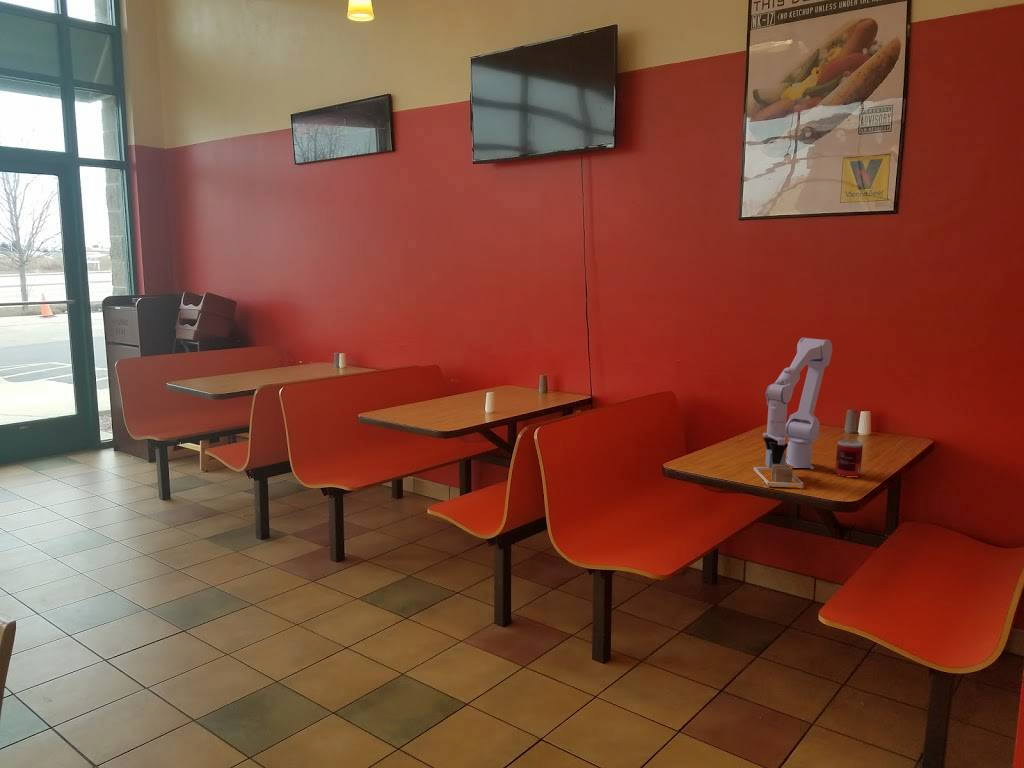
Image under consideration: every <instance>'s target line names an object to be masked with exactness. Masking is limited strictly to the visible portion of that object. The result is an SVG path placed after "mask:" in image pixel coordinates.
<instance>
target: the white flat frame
mask: <svg viewBox="0 0 1024 768" xmlns="http://www.w3.org/2000/svg"><path fill="white" fill-rule="evenodd" d="M753 470H754V471H755V472H756V473H757V474H758V475H759V476H760V477H761V478H762V479H763V480H764V482H765V483H766V484H767V485H779V486H802V487H803V488H804V485H805V484H804V482H803V481H801V479H800V478H798V476H797V475H795V474H794V473H793V472H792V478H794V480H795V481H796V482H797V483H784V482H769V481H768V480H767V479H766V478H765V477H764V476H763V475H762V474H761V473H760V472H759V470H772V468H768V467H767V466H766V467H765V466H753ZM753 470H752V471H753Z"/></svg>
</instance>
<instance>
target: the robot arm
mask: <svg viewBox="0 0 1024 768" xmlns="http://www.w3.org/2000/svg"><path fill="white" fill-rule="evenodd" d="M832 354H833V344H832V342H831V340H830V339H821V338H820V339H819V338H811V337H810V338H809V337H808V338H807V337H805V336H804V337H801V338H800V339H799V341H798V343H797V346H796V355H795V356H794V359H793V360H792V362H791V364H790V366H789V367H785V368H783V370H782V372H781V373H780V375H779V376H778V378H777V379H776V381H775V382H774V383H772V384H769V385H768V386H767V388H766V391H765V398H766V406H768V408H767V409H768V410H767V411H768V412H767V427H766V432H763V433H762V436H763V437H762V438H763V441H764V443H765V446H766V449H768V450H771V451H772V461H773V464H780V462H781V459H782V456H783V453H785V451H786V459H785V461H786V463H787V464H789V465H791V466H794V468H810V469H809V470H815V469H814V468H815V467H814V466H813V465H812V453H813V443H815V442H816V441H817V440H818V438H819V436H820V424H821V423H820V420H819V419H818V418H817V417H816V416H815V415H814V412H815V409H816V406H817V400H818V397H819V392H820V389H821V384H822V380H823V376H824V372H825V368H826V367H828V366H829V365H830V362H831V360H832V359H831V358H832ZM806 366H808V367H807V368H808V369H807V373H806V377H805V381H804V385H803V388H802V389H803V390H802V393H801V397H800V402H799V406H798V409H797V411H796V412H794V413H792V414H790V415H789V418H788V420H787V414H788V413H787V412H788V403H789V402H790V401H791V399H792V396H793V393H794V388H795V386H796V385H797V383H798V382H799V380H800V379H801V374H800V373H801V371H802V370H803V369H804V368H805V367H806ZM786 437H787V440H788V442H786ZM786 463H785V464H786ZM787 464H786V465H787Z"/></svg>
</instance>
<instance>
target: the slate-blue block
mask: <svg viewBox="0 0 1024 768" xmlns="http://www.w3.org/2000/svg"><path fill="white" fill-rule="evenodd" d="M786 457H787V452H786V453H785V452H784V453H783V456H782V459H781V462H780V464H773V461H772V451H771V450H768V449H767V448H766V451H765V462H764V465H765V466H766V467H768V468H772V465H786V463H785V460H786Z"/></svg>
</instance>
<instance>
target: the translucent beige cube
mask: <svg viewBox="0 0 1024 768" xmlns="http://www.w3.org/2000/svg"><path fill="white" fill-rule="evenodd" d="M793 470H794V469H792V468H791V467H790V466H789V465H787V464H785V465H772V475H771V479H772V480H773V481H774V482H784V483H792V473H793Z"/></svg>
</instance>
